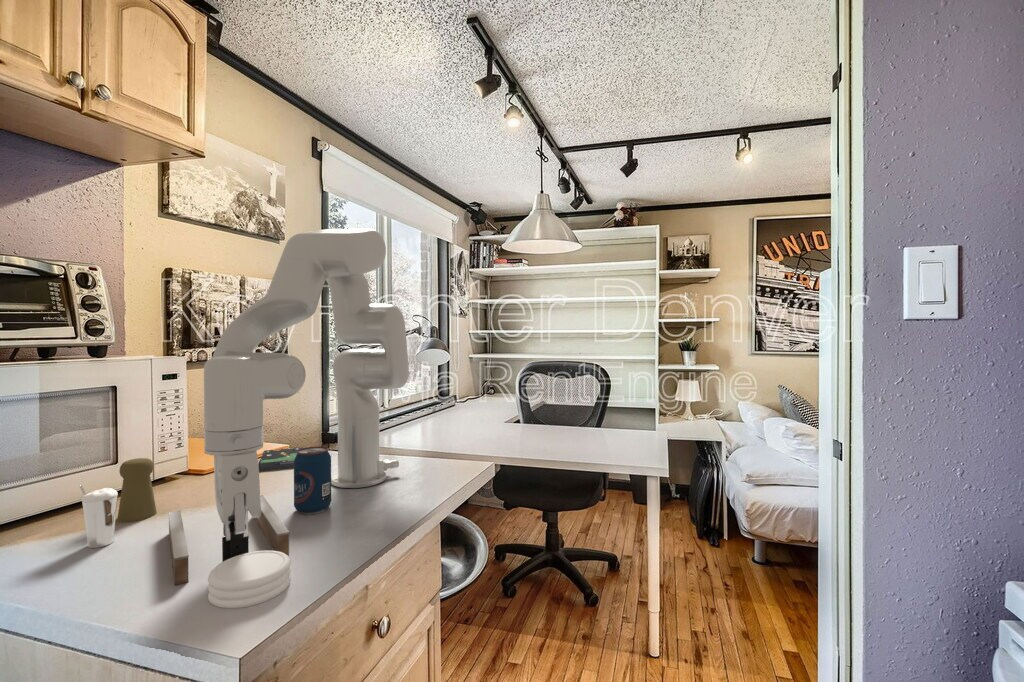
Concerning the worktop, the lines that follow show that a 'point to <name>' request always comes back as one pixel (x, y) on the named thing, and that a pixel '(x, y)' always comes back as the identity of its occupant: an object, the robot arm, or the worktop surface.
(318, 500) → the soda can
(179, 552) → the chute
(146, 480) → the olive pepper shaker
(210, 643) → the worktop surface
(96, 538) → the milkshake
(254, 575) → the coaster
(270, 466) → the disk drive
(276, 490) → the worktop surface
